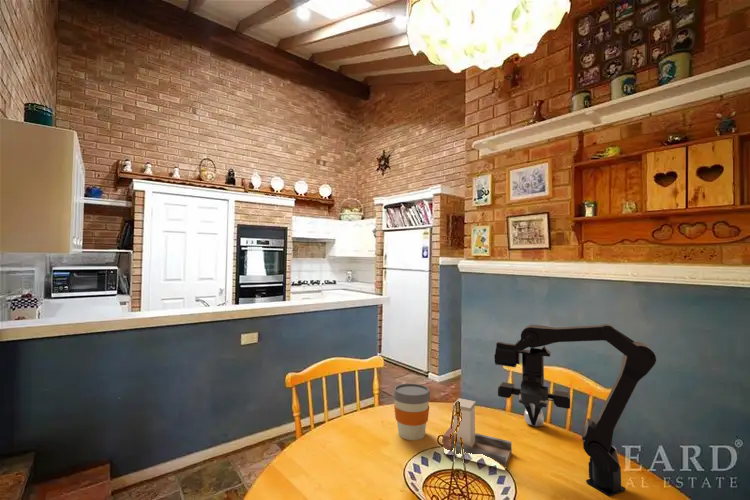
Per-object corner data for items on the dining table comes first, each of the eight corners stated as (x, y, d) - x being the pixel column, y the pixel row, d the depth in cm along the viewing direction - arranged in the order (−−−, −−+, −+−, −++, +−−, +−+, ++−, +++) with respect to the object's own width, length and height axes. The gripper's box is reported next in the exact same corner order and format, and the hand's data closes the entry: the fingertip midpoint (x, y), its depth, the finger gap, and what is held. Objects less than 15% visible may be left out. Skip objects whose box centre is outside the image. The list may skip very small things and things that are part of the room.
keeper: (475, 442, 113) (475, 401, 114) (470, 451, 107) (470, 408, 108) (459, 438, 116) (458, 398, 116) (453, 446, 110) (452, 404, 111)
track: (511, 453, 110) (511, 434, 110) (505, 470, 100) (505, 450, 100) (454, 438, 119) (454, 421, 119) (443, 453, 109) (443, 435, 109)
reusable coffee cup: (430, 444, 115) (430, 396, 116) (391, 441, 117) (391, 394, 118) (430, 427, 127) (430, 384, 128) (395, 424, 129) (395, 382, 130)
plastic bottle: (532, 429, 126) (532, 372, 127) (520, 421, 132) (519, 367, 133) (548, 427, 128) (547, 370, 129) (534, 419, 134) (534, 365, 135)
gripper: (493, 371, 101) (494, 428, 100) (569, 382, 91) (570, 445, 90) (501, 362, 110) (501, 414, 109) (570, 371, 101) (571, 428, 100)
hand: (533, 425), depth 102 cm, fingers closed
